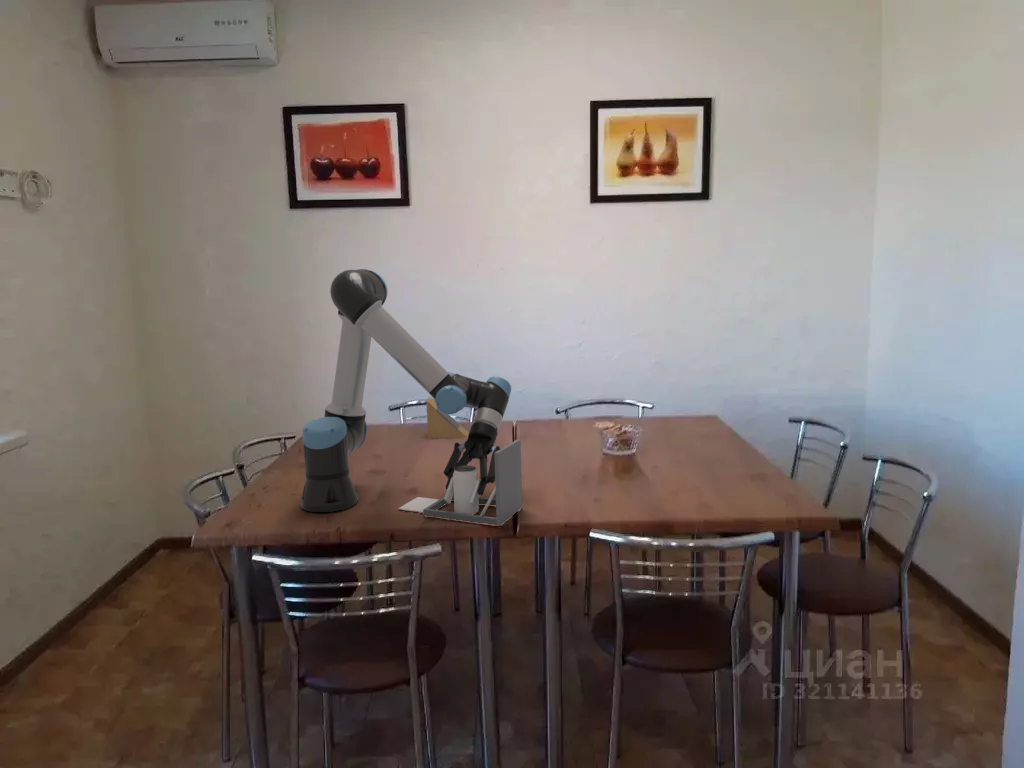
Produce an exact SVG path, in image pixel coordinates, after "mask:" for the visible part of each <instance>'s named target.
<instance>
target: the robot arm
mask: <svg viewBox="0 0 1024 768" xmlns="http://www.w3.org/2000/svg"><path fill="white" fill-rule="evenodd" d="M330 284H331V285H330V291H329V293H330V298H331V301H332V303H333V304H334V306H335V307H336V309H337V310H338V311H337V315H338V316H339V318H340V319H341V321H342V322H341V323H342V324H341V330H340V335H339V336H340V338H339V345H338V353H337V360H336V361H337V362H336V368H335V374H334V375H335V376H334V381H333V388H332V389H333V390H332V396H331V402H330V403H328V404H327V405H326V406H325V408H324V409H325V410H324V416H323V417H319V418H317V419H312V420H310V421H308V422H307V423H305V424H304V426H303V428H302V436H301V440H302V447H303V450H302V451H303V461H304V471H305V481H304V482H305V483H304V485H303V490H302V495H301V499H300V505H301V509H302V508H303V509H304V510H303V509H302V510H303V511H305V510H306V511H305V512H307V511H311V512H310V513H312V512H330V513H334V512H333V511H337V512H339V511H338V510H342V511H344V510H343V509H345V510H347V509H346V508H348V509H350V508H349V507H351V506H353V505H354V506H356V505H357V504H356V503H358V502H357V501H358V492H357V490H356V489H355V487H354V484H353V483H354V482H353V481H352V478H351V476H350V469H349V468H350V467H349V466H350V465H349V455H351V454H352V453H354V452H356V451H357V450H359V448H361V447H362V445H363V444H364V442H365V441H366V438H367V436H368V424H367V422H366V416H367V411H366V409H365V408H364V406H363V399H364V392H365V384H366V378H367V372H368V371H367V370H368V364H369V357H370V351H371V350H370V349H371V342H372V339H373V340H374V341H375V342H376V343H377V344H378V345H380V347H381V348H382V349H383V350H384V351H385V352H386V353H387V354H388V355H390V357H391V358H393V360H395V362H396V363H397V364H399V366H401V368H402V369H403V370H405V372H407V373H408V375H410V376H411V377H412V378H413V380H414V381H416V382H417V383H418V384H419V385H420V386H421V387H422V388H423V390H425V391H426V393H428V394H429V395H430V396H431V398H433V400H434V402H436V405H437V407H438V409H439V410H440V411H441V412H443V413H445V414H449V415H454V414H457V413H458V412H460V411H462V410H463V409H464V408H465V406H466V405H468V406H470V407H472V408H473V407H474V408H477V409H476V411H475V415H474V418H473V420H472V424H471V425H470V429H469V431H468V432H469V435H468V438H466V441H465V442H464V443H459V442H454V448H453V451H452V452H451V455H450V458H449V459H448V461H447V464H446V466H445V469H444V470H443V474H444V475H445V477H446V478H447V482H446V484H445V490H446V491H445V495H444V496H445V497H444V496H443V497H444V500H445V501H446V502H447V503H448V504H447V505H451V504H452V502H451V501H452V498H453V495H454V491H453V473H454V471H455V470H454V468H456V467H458V466H465V465H468V464H469V463H471V462H472V461H473V460H476V459H478V460H479V479H480V480H479V479H478V480H477V482H476V485H475V488H474V491H473V494H472V497H471V500H470V503H471V504H472V506H473V507H476V506H477V503H478V500H479V497H481V496H483V494H484V493H485V490H486V486H487V484H490V483H491V484H494V483H495V455H494V453H495V452H497V451H498V450H500V449H501V447H500V446H499V445H497V446H495V445H494V444H495V442H496V440H497V437H498V433H499V430H500V427H501V424H502V421H503V418H504V415H505V412H506V410H507V409H506V408H507V407H508V403H509V399H510V398H511V397H510V396H511V392H512V386H511V384H510V382H509V381H508V380H507V379H505V378H503V377H501V376H491V377H489V378H488V379H487V380H486V381H480V380H477V379H474V378H471V377H468V376H464V375H461V374H460V373H453V372H449V371H447V370H446V369H445V368H444V366H442V365H441V364H440V363H439V362H438V361H437V360H436V359H435V358H434V357H433V356H432V355H431V354H430V353H429V352H428V351H427V350H426V349H425V348H424V347H423V346H422V345H421V344H420V343H419V342H418V341H417V340H416V339H415V338H414V337H413V336H412V335H411V334H410V333H409V332H408V331H407V330H406V329H405V328H404V327H403V326H402V325H401V324H400V323H399V322H398V321H397V320H396V319H395V318H394V317H393V316H392V315H391V314H390V313H389V312H387V311H388V310H386V309H385V308H384V307H383V305H384V304H385V302H386V300H387V298H388V285H387V284H386V281H385V280H384V278H383V277H382V276H381V275H380V274H379V273H377V272H376V271H373V270H370V269H367V268H365V269H364V268H360V269H347V270H344V271H341V272H340V273H338V274H337V275H336V276H335V277H334V278H333V280H332V282H331V283H330ZM464 449H465V450H464ZM490 454H491V456H490V457H491V458H490V462H489V467H488V455H490ZM355 504H356V505H355ZM354 506H353V507H354ZM351 508H352V507H351Z"/></svg>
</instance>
